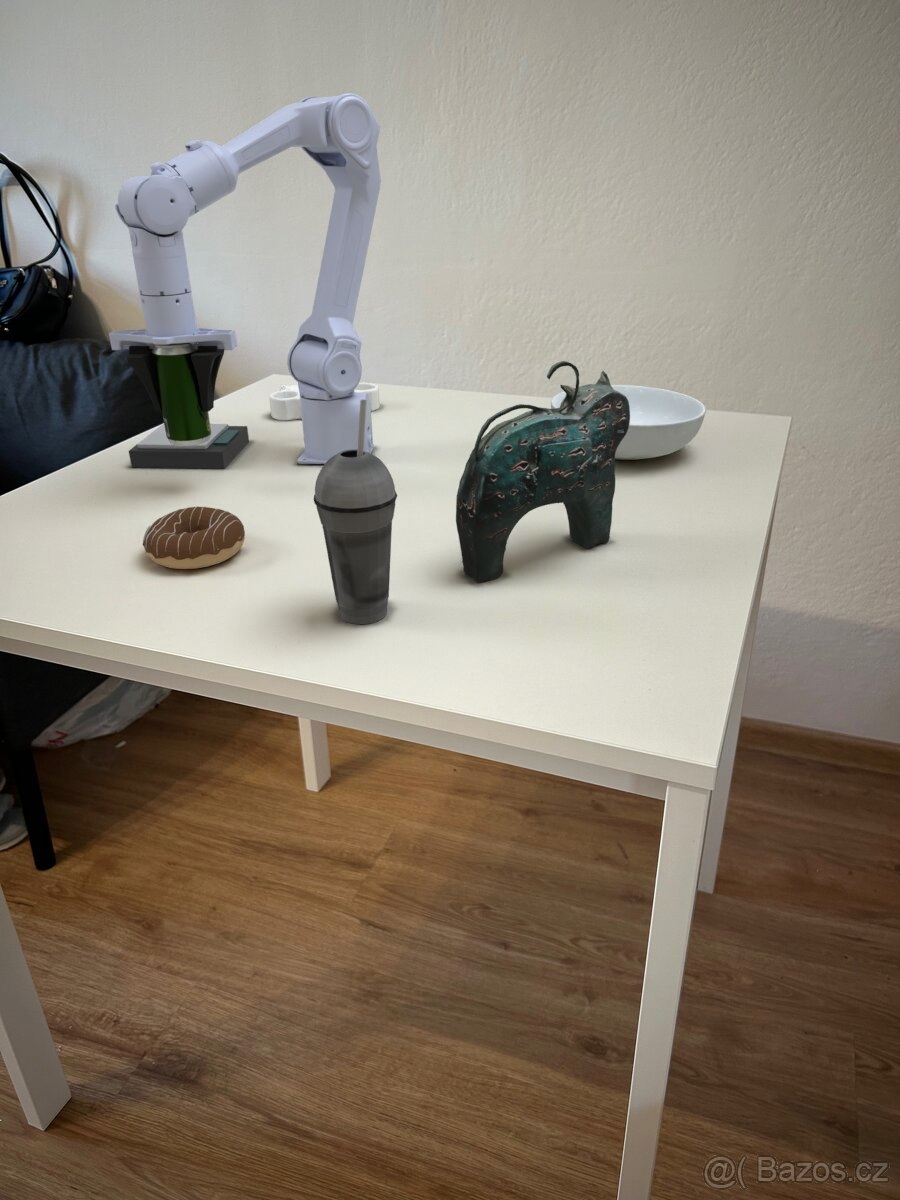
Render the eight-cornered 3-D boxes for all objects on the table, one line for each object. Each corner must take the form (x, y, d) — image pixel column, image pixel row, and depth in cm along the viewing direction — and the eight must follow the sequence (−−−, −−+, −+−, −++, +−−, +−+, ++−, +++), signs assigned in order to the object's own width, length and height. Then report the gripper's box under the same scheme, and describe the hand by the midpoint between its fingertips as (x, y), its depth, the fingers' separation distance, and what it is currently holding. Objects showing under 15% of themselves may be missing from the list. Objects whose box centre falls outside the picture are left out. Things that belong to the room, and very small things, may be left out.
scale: (249, 441, 127) (246, 421, 126) (224, 469, 117) (221, 447, 115) (163, 440, 128) (160, 421, 127) (131, 467, 118) (127, 446, 116)
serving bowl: (693, 482, 110) (700, 430, 107) (533, 467, 116) (535, 416, 113) (704, 435, 127) (711, 389, 124) (565, 424, 133) (567, 379, 130)
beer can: (175, 449, 104) (158, 348, 98) (161, 438, 108) (144, 340, 102) (218, 441, 106) (204, 342, 101) (203, 431, 110) (188, 334, 104)
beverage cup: (325, 596, 83) (307, 390, 74) (400, 592, 84) (391, 387, 75) (322, 633, 77) (301, 414, 68) (403, 629, 78) (394, 410, 68)
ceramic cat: (592, 525, 98) (606, 346, 88) (633, 545, 93) (651, 357, 84) (447, 569, 88) (444, 373, 79) (484, 593, 83) (486, 388, 74)
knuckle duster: (364, 392, 151) (389, 414, 139) (262, 403, 146) (278, 426, 134) (363, 373, 150) (388, 393, 138) (260, 383, 144) (275, 405, 132)
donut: (268, 550, 93) (263, 516, 91) (184, 585, 86) (178, 548, 84) (208, 526, 99) (203, 493, 97) (126, 556, 92) (119, 522, 90)
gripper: (89, 298, 96) (113, 418, 102) (217, 297, 95) (233, 418, 101) (115, 288, 102) (136, 402, 108) (235, 288, 101) (249, 402, 107)
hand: (184, 409), depth 105 cm, fingers closed on beer can, 5 cm apart
